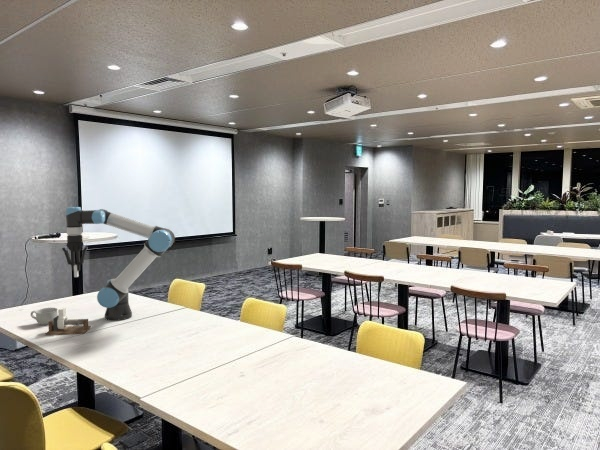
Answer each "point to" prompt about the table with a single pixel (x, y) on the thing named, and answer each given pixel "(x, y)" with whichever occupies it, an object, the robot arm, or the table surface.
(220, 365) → the table surface
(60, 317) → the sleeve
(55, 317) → the charcoal slab
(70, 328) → the pipe rig
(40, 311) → the teacup
